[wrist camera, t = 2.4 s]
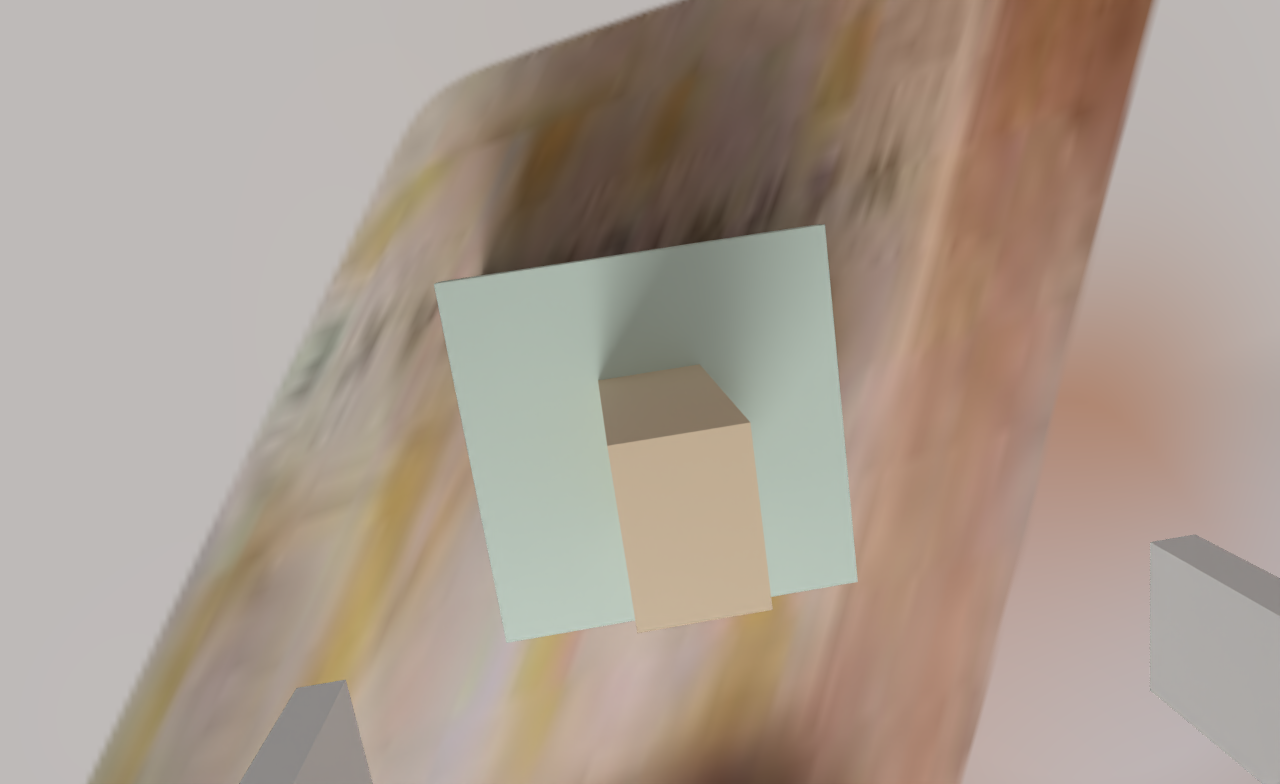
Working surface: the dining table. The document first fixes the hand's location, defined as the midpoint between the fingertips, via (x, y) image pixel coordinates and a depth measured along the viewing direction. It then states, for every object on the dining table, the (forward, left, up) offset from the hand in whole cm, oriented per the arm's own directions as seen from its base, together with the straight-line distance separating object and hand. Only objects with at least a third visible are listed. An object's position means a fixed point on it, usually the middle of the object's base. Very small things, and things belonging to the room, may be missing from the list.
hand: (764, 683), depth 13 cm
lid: (0, 0, -16) cm, 16 cm away
